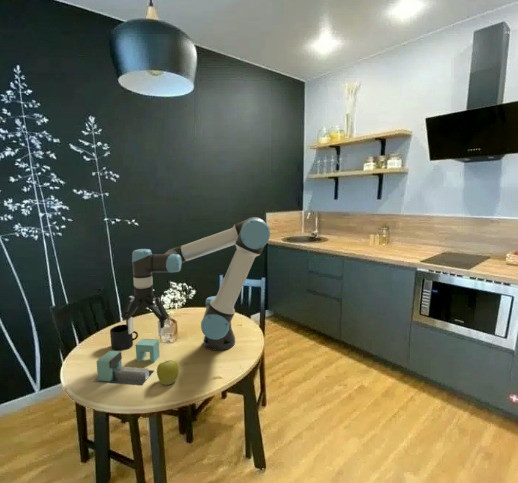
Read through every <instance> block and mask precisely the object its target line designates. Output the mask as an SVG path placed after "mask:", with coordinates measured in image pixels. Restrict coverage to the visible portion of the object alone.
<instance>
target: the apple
mask: <svg viewBox="0 0 518 483" xmlns="http://www.w3.org/2000/svg"><path fill="white" fill-rule="evenodd" d="M179 371H180V370H179V364H178V362H177V361H176V360H174V359H170V360H169V359H168V360H166V359H164V361H163V362H160V363H159V364H158V366H157V368H156V374H157V378H158V380H159V381H160V383H161V384H162V385H165V386H169V385H172V384H173V383H175V382H176V380H177V379H178V376H179Z"/></svg>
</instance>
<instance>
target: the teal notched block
mask: <svg viewBox="0 0 518 483" xmlns="http://www.w3.org/2000/svg"><path fill="white" fill-rule="evenodd" d="M121 351H122V350H120V351H116V350H108V351H107V352H106V353H104V354H103V355H102V356H101V357H100V358H98V359H97V360H96V371H97V378H98V380H100V381H111V380H112V379H113V372H112V367H113V366H119V367H123V365H122V364H123V363H122V360H123V358H122V357H123V356H122V352H121Z"/></svg>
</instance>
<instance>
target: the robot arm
mask: <svg viewBox="0 0 518 483" xmlns="http://www.w3.org/2000/svg"><path fill="white" fill-rule="evenodd" d="M270 236H271V231H270V227H269V226H268V224H267V222H266V221H265V220H263V219H262V218H260V217H257V216H252V217H249V218H247V219H245V220H243V221H240V222H239V223H235V224H233V226H232V227H231V228H228V229H225V230H223V231H220V232H217V233H215V234H212V235H209V236H205V237H202V238H201V239H197V240H195V241H192V242H189V243H186V244H183V245H182V244H181V245H180V246H177V247H172V248H169V249H168V250H167V251H165V253H163V254H162V253H160V254H156V253H155V254H154V253H152V250H151V249H150V248H138V249H135V250H133V251H132V256H131V257H132V258H131V262H132V263H131V264H132V274H133V276H132V278H133V287H134V288H133V295H129V296H127V298H126V300H127V301H126V304H125V306H124V309H123V311H122V313H121V318H122V319H123V318H125V323H126V324H125V325H127V326H128V333H129V334H131V333H132V332H134V331H135V330H134V318H133V315H134V313H135V312H136V311H137V309H138V308H139V309H141V308H142V309H143V308H144V309H149V310H150V311H151V312H152V313H153V314H154V315H155V317H156V318H157V319H158V321H157V327H158V328H157V329H158V330H157V331H158V332H157V333H158V337H161V336H162V335H163V334H164V327H165V324H166V323H165V321H166V320H167V319H168V318H169V317H170V316H169V314H168V312H167V310H166V308H165V306H164V304H163V303H162V299H161V297H160V296H158V297H154V286H153V285H154V284H153V281H154V280H153V273H170V274H173V273H179V272H180V271H181V270H182V264H183V263H186V262H188V261H191V260H194V259H197V258H200V257H202V256H206V255H209V254H212V253H215V252H217V251H221V250H223V249H226V248H229V247H231V246H232V247H233V246H235V249H236V250H235V252H234V255H232V256H233V257H232V258H231V261H230V263H229V266H228V268H227V271H226V273H225V275H224V277H223V279H222V283H221V284H220V287H219V290H218V291H217V294H216V295H214V296H213V295H212V296H209V297H207V298H206V299H205V302H204V303H205V311H204V315H203V317H202V320H201V321H200V329H201V331H202V334H203V335H204V337H203V346H204V348H206V349H207V350H211V351H225V350H228V349H230V348H232V347H233V346H235V344H236V336H235V334H234V331H233V329H232V320H233V318H234V316H235V313H236V310H235V305H236V302H237V300H238V297H239V296H240V293H241V291H242V289H243V287H244V284H245V282H246V279H247V278H248V275H249V272H250V270H251V268H252V265H253V263H254V261H255V258H256V257H258V256H261V254H262V252H263V250H264V247H265V246H266V245H267V243H269V240H270ZM133 302H135V304H134V305H133V307H132V308H131V306H132V304H133ZM130 309H131V310H130ZM132 334H133V333H132Z"/></svg>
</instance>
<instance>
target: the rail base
mask: <svg viewBox="0 0 518 483" xmlns="http://www.w3.org/2000/svg"><path fill="white" fill-rule="evenodd" d="M112 372H113V379H112V380H111V381H100V380H98V377H97V378H95V379H94V380H93V381H92V382H93V383H101V384H102V383H103V384H115V385H116V384H118V385H129V386H130V385H131V386H143V385H144V383H146V381H147V380H148V379H149V378H150V377H151V375H152V374H153V373H154V372H155V370H151V369H149V368H146V367H131V366H130V367H129V366H122V367H119V366H113V367H112Z"/></svg>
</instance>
